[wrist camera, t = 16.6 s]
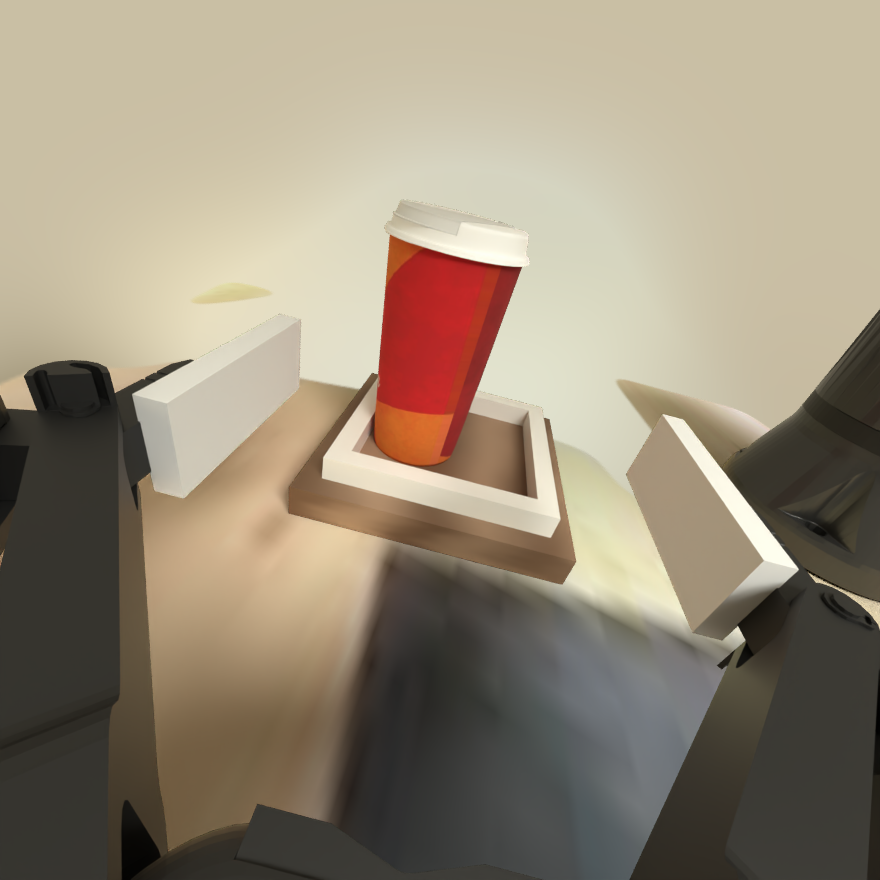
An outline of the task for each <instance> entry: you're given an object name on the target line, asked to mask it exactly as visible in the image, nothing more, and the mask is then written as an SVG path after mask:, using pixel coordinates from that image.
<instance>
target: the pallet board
mask: <svg viewBox="0 0 880 880" xmlns="http://www.w3.org/2000/svg"><path fill="white" fill-rule="evenodd" d="M377 383H378V374H374V373H372V374H371V375H370V377H369V378H368V380H367V381H366V382H365V384H364V385H363V386H362V388H361V389H360V390H359V392H358V393H357V394H356V396H355V397H354V399H353V400H352V401H351V403H350V404H349V405H348V407H347V408H346V410H345V411H344V412H343V414H342V415H341V416H340V418H339V419H338V421H337V422H336V423H335V425H334V426H333V427H332V429H331V430H330V431H329V433H328V434H327V436H326V437H325V438H324V440H323V441H322V442H321V444H320V445H319V447H318V448H317V449H316V451H315V452H314V453H313V455H312V456H311V458H310V459H309V460H308V462H307V463H306V464H305V466H304V467H303V469H302V470H301V471H300V473H299V474H298V475H297V477H296V478H295V480H294V481H293V482H292V484H291V485H290V486H289V513H290V514H294V515H298V516H302V517H305V518H309V519H313V520H317V521H321V522H325V523H328V524H332V525H336V526H340V527H344V528H348V529H351V530H355V531H359V532H363V533H367V534H371V535H374V536H378V537H382V538H386V539H390V540H393V541H397V542H401V543H405V544H409V545H413V546H416V547H420V548H424V549H428V550H432V551H436V552H439V553H443V554H447V555H451V556H455V557H458V558H462V559H466V560H470V561H474V562H478V563H481V564H485V565H489V566H493V567H497V568H501V569H504V570H508V571H512V572H516V573H520V574H524V575H527V576H531V577H535V578H539V579H543V580H546V581H550V582H554V583H558V584H563V583H564V581H565V579H566V578H567V576H568V574H569V573H570V571H571V569H572V568H573V566H574V565H575V563H576V558H575V552H574V547H573V542H572V537H571V531H570V526H569V521H568V515H567V510H566V505H565V500H564V494H563V489H562V484H561V478H560V473H559V468H558V462H557V457H556V452H555V447H554V441H553V436H552V431H551V425H550V420H549V419H546V418H544V417H543V410H542V407H538V406H534V405H530V404H527V403H522V402H519V401H515V400H511V399H507V398H503V397H499V396H496V395H492V394H488V393H484V392H481V391H476V394H475V396H474V399H473V402H472V404H471V407H470V410H469V412H468V415H467V418H466V420H465V423H464V426H463V428H462V431H461V434H460V436H459V439H458V441H457V444H456V446H455V448H454V451H453V453H452V455H451V456H450V458H449V459H448V460H446V461H445V462H443V463H441V464H438V465H434V466H427V467H420V466H411V465H407V464H403V463H400V462H398V461H395V460H393V459H391V458H389V457H388V456H386V455H385V454H384V453H383V452H382V451H381V450H380V449H379V448H378V447H377V445H376V443H375V438H374V426H375V410H376V397H377Z"/></svg>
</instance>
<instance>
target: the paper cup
mask: <svg viewBox="0 0 880 880" xmlns="http://www.w3.org/2000/svg"><path fill="white" fill-rule="evenodd" d="M384 228H385V230H386V232H387V233H388V234H390V240H389V253H388V264H387V276H386V287H385V301H384V312H383V323H382V335H381V347H380V359H379V371H378V383H377V397H376V410H375V426H374V438H375V443H376V445H377V447H378V448H379V449H380V450H381V451H382V452H383V453H384V454H385V455H386V456H388V457H389V458H391V459H393V460H395V461H398V462H400V463H403V464H407V465H411V466H420V467H427V466H434V465H438V464H441V463H443V462H445V461H446V460H448V459H449V458H450V456H451V455H452V453H453V451H454V448H455V446H456V444H457V441H458V439H459V436H460V434H461V431H462V428H463V426H464V423H465V420H466V418H467V415H468V412H469V410H470V407H471V404H472V402H473V399H474V396H475V394H476V391H477V388H478V385H479V383H480V380H481V377H482V375H483V372H484V369H485V366H486V364H487V361H488V358H489V356H490V353H491V350H492V347H493V344H494V342H495V339H496V336H497V334H498V331H499V328H500V326H501V323H502V320H503V317H504V314H505V312H506V309H507V306H508V304H509V301H510V298H511V296H512V293H513V290H514V287H515V285H516V282H517V279H518V276H519V274H520V271H521V268H522V267H523V266H528V265H529V263H530V262H529V257H528V256H526V252H527V245H528V240H529V236H528V233H527V232H525V231H523V230H520V229H515V228H514V227H513V226H511V225H508V224H505V223H502V222H495V220H491V219H488V218H484V217H481V216H477V215H474V214H470V213H466V212H462V211H458V210H454V209H450V208H446V207H442V206H437V205H432V204H427V203H423V202H417V201H410V200H401V201H400V203H399V205H398V208H397V210H396V211H394V212H393V218H392V221H388V222H387V223H386V225H385V227H384Z"/></svg>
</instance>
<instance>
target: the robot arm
mask: <svg viewBox="0 0 880 880" xmlns="http://www.w3.org/2000/svg"><path fill="white" fill-rule="evenodd" d="M300 328H301V319H298V318H294V317H290V316H286V315H282V314H278V315H277V316H275V317H273V318H271V319H269V320H268V321H266V322H264V323H262V324H260V325H258V326H256V327H255V328H253V329H251V330H249V331H247V332H245V333H244V334H242V335H240V336H238V337H236V338H235V339H233V340H231V341H229V342H227V343H225V344H223V345H222V346H220V347H218V348H216V349H214V350H213V351H211V352H209V353H207V354H205V355H203V356H201V357H200V358H198V359H196V360H191V359H190V360H186V361H182V362H177V363H173V364H170V365H168V366H167V367H165V368H163V369H161V370H159V371H157V373H153V374H151V375H149V376H147V377H145V380H144V379H141V380H140V381H138V382H136V383H134V384H132V385H130V386H128V387H126V388H124V389H122V390H120V391H118V392H116V393H115V392H114V388H113V384H112V381H111V377H110V373H109V371H108V369H107V367H105V366H103V365H101V364H98V363H94V362H89V361H75V360H69V361H58V362H52V363H47V364H43V365H40V366H37V367H35V368H33V369H31V370H29V371H28V372H27V373H26V374H25V375H24V378H25V380H26V383H27V386H28V388H29V391H30V393H31V396H32V399H33V401H34V404H35V406H36V409H37V411H34V410H19V409H6V407H5V405H4V402H3V400H2V398H1V396H0V555H1V554H2V552H3V551H4V554H3V558H2V563H1V567H0V880H542V879H539V878H535V877H531V876H527V875H524V874H520V873H516V872H512V871H509V870H505V869H501V868H497V867H493V866H490V865H486V864H483V865H475V866H467V867H459V868H451V869H443V870H435V871H427V872H418V873H403V872H401V871H398V870H397V869H395V868H394V867H392V866H391V865H389V864H388V863H387V862H385V861H384V860H382V859H381V858H380V857H378V856H377V855H375V854H374V853H372V852H371V851H370V850H368V849H367V848H365V847H364V846H362V845H361V844H360V843H358V842H357V841H355V840H354V839H353V838H351V837H350V836H348V835H347V834H345V833H344V832H343V831H341V830H340V829H338V828H337V827H335V826H334V825H333V824H331V823H328V822H324V821H320V820H316V819H312V818H309V817H305V816H301V815H297V814H294V813H290V812H286V811H282V810H279V809H275V808H271V807H267V806H263V805H260V804H257V806H256V809H255V811H254V813H253V816H252V818H251V821H250V823H246V824H236V825H232V826H228V827H224V828H220V829H217V830H213V831H211V832H208V833H206V834H203V835H201V836H199V837H196V838H194V839H191V840H190V841H188V842H186V843H184V844H182V845H180V846H179V847H177V848H175V849H173V850H171V851H169V852H168V849H167V836H166V825H165V817H164V809H163V804H162V798H161V793H160V788H159V781H158V772H157V758H156V741H155V725H154V709H153V692H152V676H151V660H150V643H149V627H148V611H147V595H146V578H145V562H144V546H143V529H142V513H141V497H140V490H139V486H138V482H139V481H140V480H141V479H143V478H144V477H145V476H146V475H148V474H149V473H150V475H151V479H152V483H153V488H154V491H157V492H161V493H164V494H168V495H172V496H176V497H179V498H183V499H184V498H185V497H186V496H187V495H188V494H189V493H190V492H191V491H192V490H193V489H194V488H195V487H197V486H198V485H199V484H200V483H201V482H202V481H203V480H204V479H205V478H206V477H207V476H208V475H209V474H210V473H211V472H212V471H213V470H214V469H215V468H216V467H217V466H218V465H220V464H221V463H222V462H223V461H224V460H225V459H226V458H227V457H228V456H229V455H230V454H231V453H232V452H233V451H234V450H235V449H236V448H237V447H238V446H239V445H240V444H241V443H243V442H244V441H245V440H246V439H247V438H248V437H249V436H250V435H251V434H252V433H253V432H254V431H255V430H256V429H257V428H258V427H259V426H260V425H261V424H262V423H263V422H265V421H266V420H267V419H268V418H269V417H270V416H271V415H272V414H273V413H274V412H275V411H276V410H277V409H278V408H279V407H280V406H281V405H282V404H283V403H284V402H285V401H286V400H288V399H289V398H290V397H291V396H292V395H293V394H294V393H295V392H296V391H297V390H298V389H299V370H300V369H299V368H300V332H301V329H300ZM626 475H627V478H628V480H629V483H630V485H631V487H632V490H633V492H634V495H635V497H636V499H637V502H638V504H639V506H640V509H641V511H642V514H643V516H644V518H645V521H646V523H647V526H648V528H649V530H650V533H651V535H652V537H653V540H654V542H655V545H656V547H657V549H658V552H659V554H660V557H661V559H662V561H663V564H664V566H665V568H666V571H667V573H668V576H669V578H670V580H671V583H672V585H673V588H674V590H675V592H676V595H677V597H678V599H679V602H680V604H681V607H682V609H683V611H684V614H685V616H686V619H687V621H688V623H689V626H690V628H691V630H692V633H696V634H700V635H703V636H707V637H711V638H715V639H719V640H723V639H724V638H725V637H726V636H728V635H729V634H730V633H731V632H732V631H733V630H734V629H735V628H736V627H737V626H738V627H739V629H740V631H741V632H742V634H743V636H744V638H745V640H746V641H745V642H743V643H742V644H741V645H740V646H739V647H738V648H737V649H735V650H734V651H733V652H732V653H731V654H730V655H729V656H727V657H726V658H725V659H724V660H723V661H722V662H721V663H719V664H718V665H717V666H718V667H719V668H721V669H723V668H724V667H725V666H728V667H727V669H726V671H725V673H724V676H723V678H722V680H721V682H720V684H719V686H718V689H717V691H716V693H715V695H714V697H713V700H712V702H711V704H710V706H709V708H708V710H707V713H706V715H705V717H704V719H703V721H702V723H701V726H700V728H699V730H698V732H697V734H696V736H695V739H694V741H693V743H692V745H691V747H690V749H689V752H688V754H687V756H686V758H685V760H684V762H683V765H682V767H681V769H680V771H679V773H678V775H677V778H676V780H675V782H674V784H673V786H672V789H671V791H670V793H669V795H668V797H667V799H666V802H665V804H664V806H663V808H662V810H661V812H660V815H659V817H658V819H657V821H656V823H655V825H654V828H653V830H652V832H651V834H650V836H649V838H648V841H647V843H646V845H645V847H644V849H643V851H642V854H641V856H640V858H639V860H638V862H637V865H636V867H635V869H634V871H633V873H632V875H631V878H630V880H880V629H879V626H878V624H877V623H876V621H875V620H874V619H873V617H872V616H871V615H870V614H869V613H868V612H867V611H866V610H865V609H864V608H863V607H862V606H861V605H859V604H858V603H857V602H855V601H854V600H853V599H851V598H850V597H848V596H847V595H846V594H844V593H842V592H840V591H838V590H836V589H834V588H833V587H830V586H827V585H824V584H821V583H815V581H814V580H813V579H812V578H811V576H810V575H809V574H808V572H807V571H806V570H805V569H804V568H806V569H807V570H809V571H811V572H813V573H814V574H816V575H818V576H820V577H822V578H824V579H826V580H828V581H830V582H832V583H834V584H836V585H838V586H840V587H842V588H845V589H847V590H849V591H852V592H854V593H856V594H859V595H862V596H864V597H867V598H870V599H873V600H877V601H880V310H879V311H878V312H877V313H876V315H875V316H874V317H873V318H872V320H871V321H870V322H869V323H868V325H867V326H866V327H865V329H864V330H863V331H862V332H861V333H860V335H859V336H858V337H857V338H856V340H855V341H854V342H853V343H852V345H851V346H850V347H849V348H848V349H847V351H846V352H845V353H844V355H843V356H842V357H841V358H840V359H839V361H838V362H837V363H836V364H835V365H834V367H833V368H832V369H831V370H830V371H829V373H828V374H827V375H826V376H825V377H824V379H823V380H822V381H821V382H820V384H819V385H818V386H817V387H816V389H815V390H814V391H813V392H812V394H811V395H810V396H809V397H808V398H807V400H806V401H805V402H804V403H803V404H802V406H801V407H800V408H799V409H798V410H797V411H796V412H795V413H794V414H793V415H792V416H790V417H789V418H787V419H786V420H785V421H783V422H782V423H780V424H779V425H777V426H776V427H775V428H773V429H772V430H770V431H769V432H767V433H766V434H765V435H763V436H762V437H761V438H759V439H758V440H757V441H755V442H754V443H753V444H751V445H750V446H749V447H747V448H744V449H741V450H740V451H738V452H736V453H734V454H733V455H732V456H731V457H730V458H729V459H728V461H727V462H726V463H725V465H724V466H723V467H722V469H721V468H720V466H719V465H718V464H717V462H716V461H715V460H714V459H713V457H712V456H711V455H710V453H709V452H708V451H707V449H706V448H705V447H704V446H703V444H702V443H701V442H700V440H699V439H698V438H697V436H696V435H695V434H694V433H693V431H692V430H691V429H690V427H689V426H688V425H687V423H686V422H685V421H684V420H683V419H680V418H676V417H672V416H668V415H664V414H662V415H661V417H660V419H659V420H658V422H657V424H656V425H655V427H654V429H653V430H652V432H651V434H650V435H649V437H648V439H647V440H646V442H645V444H644V445H643V447H642V449H641V450H640V452H639V454H638V455H637V457H636V459H635V460H634V462H633V464H632V465H631V467H630V469H629V470H628V472H627V473H626ZM4 549H5V550H4Z"/></svg>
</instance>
